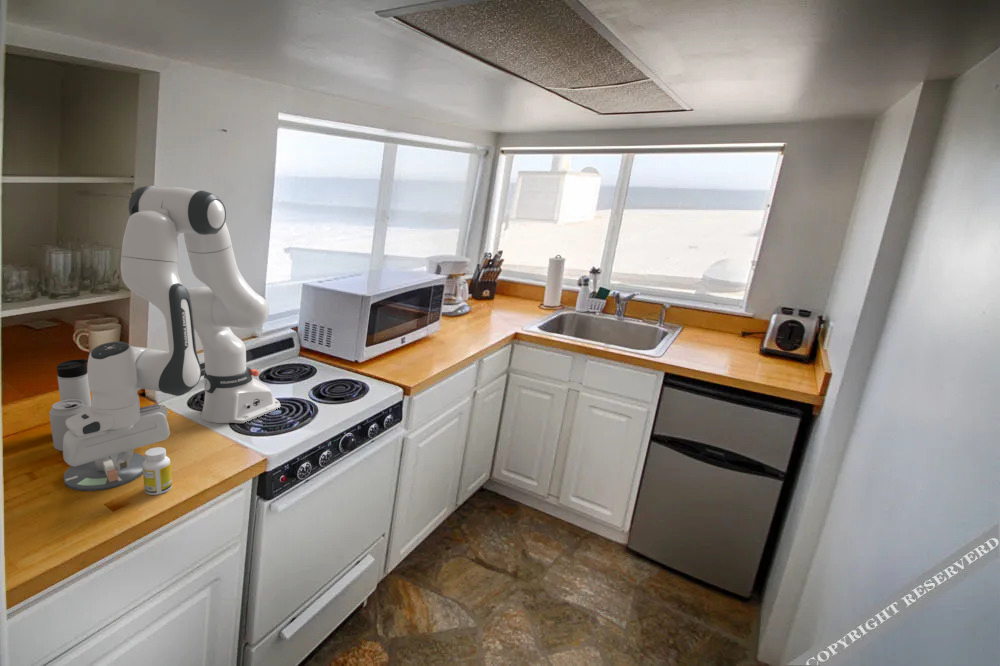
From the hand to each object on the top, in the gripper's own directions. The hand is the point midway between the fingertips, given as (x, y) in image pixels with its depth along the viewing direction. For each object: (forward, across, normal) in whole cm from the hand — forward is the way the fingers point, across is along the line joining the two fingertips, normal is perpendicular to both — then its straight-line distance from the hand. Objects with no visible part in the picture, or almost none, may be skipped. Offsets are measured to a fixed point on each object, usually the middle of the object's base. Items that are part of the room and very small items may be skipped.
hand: (122, 468), depth 123 cm
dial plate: (+3, +1, -6) cm, 7 cm away
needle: (+2, +2, -3) cm, 4 cm away
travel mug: (+4, -2, -33) cm, 33 cm away
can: (+4, +2, -25) cm, 26 cm away
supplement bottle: (+4, -4, +9) cm, 10 cm away
